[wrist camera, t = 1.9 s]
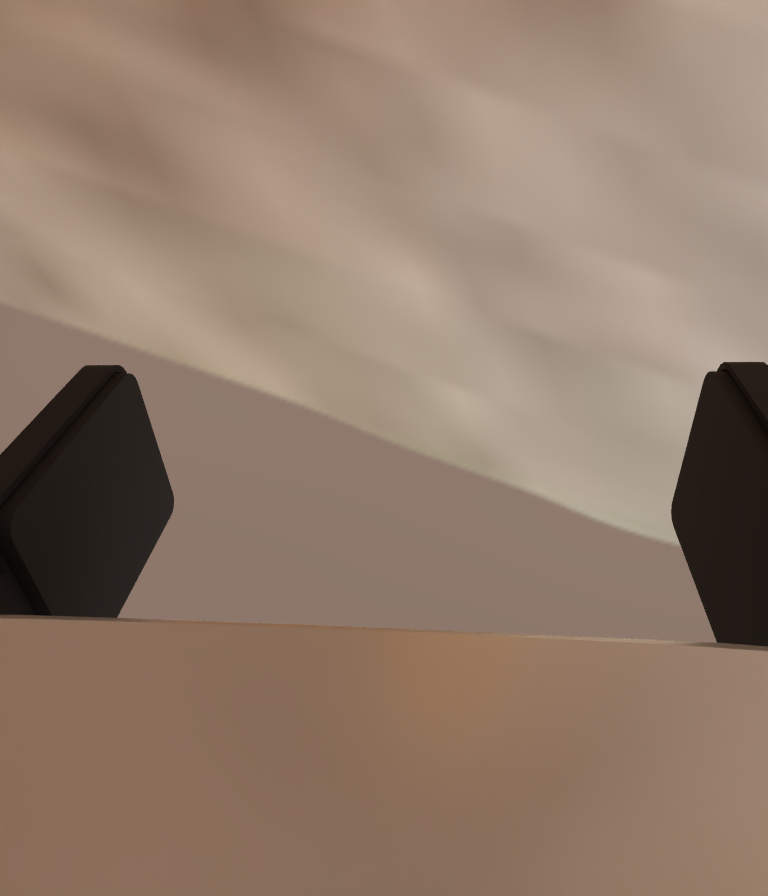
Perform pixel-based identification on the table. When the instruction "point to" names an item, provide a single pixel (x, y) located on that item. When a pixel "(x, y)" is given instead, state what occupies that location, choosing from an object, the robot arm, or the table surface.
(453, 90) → the table surface
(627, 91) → the table surface
